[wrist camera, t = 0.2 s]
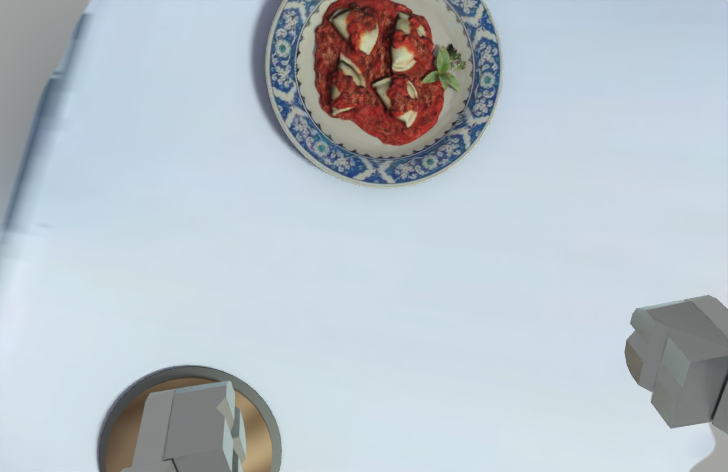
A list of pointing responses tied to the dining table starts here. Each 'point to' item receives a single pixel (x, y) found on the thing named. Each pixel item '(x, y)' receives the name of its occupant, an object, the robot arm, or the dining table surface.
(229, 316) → the dining table surface
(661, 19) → the dining table surface
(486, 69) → the ceramic plate
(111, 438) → the lid
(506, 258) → the dining table surface
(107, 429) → the tray
